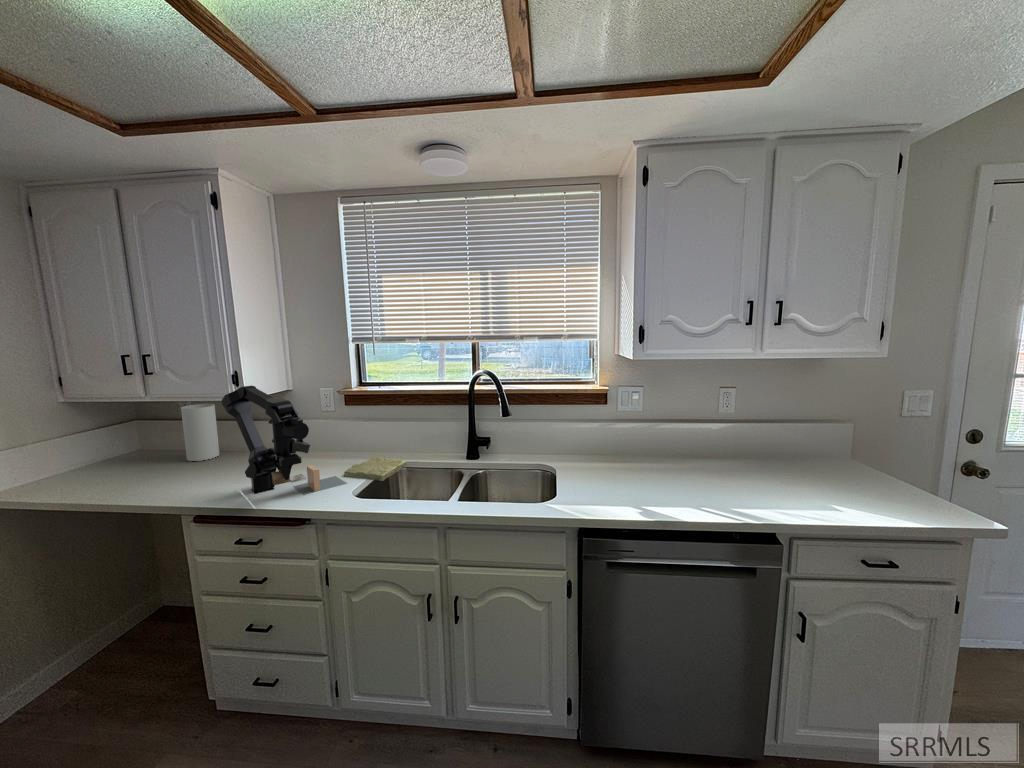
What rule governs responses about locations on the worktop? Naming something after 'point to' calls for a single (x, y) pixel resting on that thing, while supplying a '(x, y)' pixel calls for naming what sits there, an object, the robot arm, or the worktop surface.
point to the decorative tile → (376, 468)
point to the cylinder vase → (200, 432)
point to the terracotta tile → (313, 478)
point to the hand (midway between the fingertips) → (285, 478)
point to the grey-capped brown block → (279, 478)
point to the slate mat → (321, 485)
